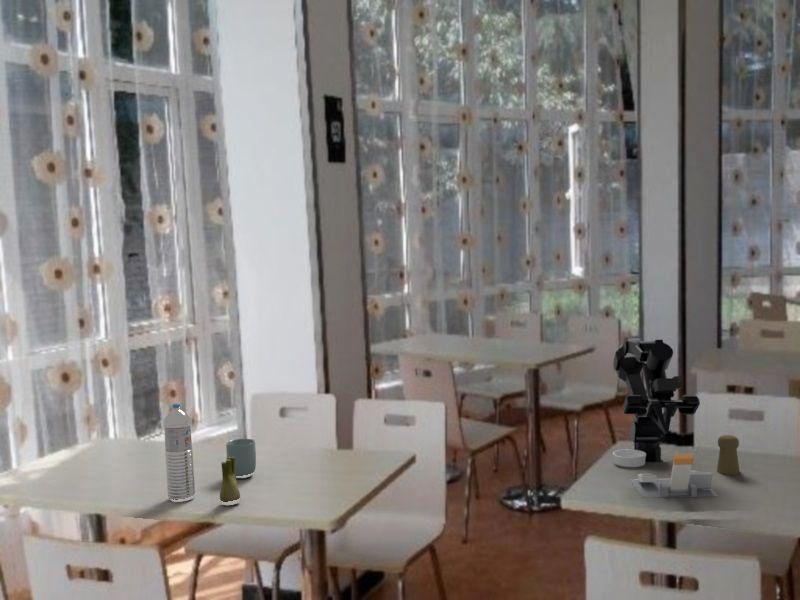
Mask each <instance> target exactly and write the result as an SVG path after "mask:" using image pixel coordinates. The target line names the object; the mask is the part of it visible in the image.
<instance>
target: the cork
mask: <svg viewBox="0 0 800 600" xmlns="http://www.w3.org/2000/svg"><path fill="white" fill-rule="evenodd" d="M739 443H740V441H739V438H738V437H737V436H735V435H730V434H724V435H723V434H722V435H721V436H719V437H718V439H717V445H718V447H719V453H718V461H717V466H716V467H717V469H716V472H717V473H718V474H721V475H729V476H731V475H733V476H736V475H739V474H740V473H741V471H740V465H739V464H740V463H739V458H738V457H739V456H738V451H737V449H738V448H739V447H740V446H739V445H740V444H739Z"/></svg>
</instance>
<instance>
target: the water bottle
mask: <svg viewBox="0 0 800 600" xmlns="http://www.w3.org/2000/svg"><path fill="white" fill-rule="evenodd" d="M191 426H192V419H191V417H190V416H189V414H188V413H187V412H186V411H184V410H182V409H181V403H177V402H176V403H172V410H171V411H169V413H167V414H166V416H165V417H164V419H163V427H164V441H165V442H164V446H165V451H164V453H165V468H166V469H165V471H166V481H167V482H166V484H167V496H168V497H167V498H169V499H173V500H174V499H175V500H178V499H185V498H188V497H191V496H193V495H194V494H195V495H196V490H195V485H196V484H195V473H194V472H195V471H194V470H195V469H194V453H193V452H194V449H193V445H192V444H193V443H192V427H191ZM169 499H168V500H169Z"/></svg>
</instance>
